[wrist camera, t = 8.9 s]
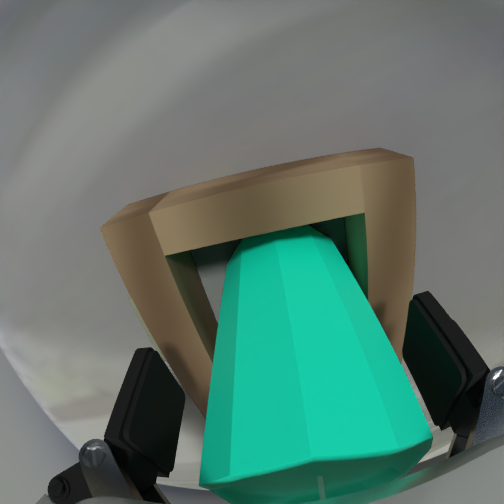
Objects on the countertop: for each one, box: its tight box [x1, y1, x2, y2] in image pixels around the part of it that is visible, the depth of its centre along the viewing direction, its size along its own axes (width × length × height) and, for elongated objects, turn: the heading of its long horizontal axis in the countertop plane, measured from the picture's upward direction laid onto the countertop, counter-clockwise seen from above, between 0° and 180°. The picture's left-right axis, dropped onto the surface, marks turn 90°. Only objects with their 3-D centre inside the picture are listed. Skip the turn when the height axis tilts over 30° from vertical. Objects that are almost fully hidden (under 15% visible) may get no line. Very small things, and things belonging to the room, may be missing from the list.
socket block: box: [100, 148, 416, 418], centre depth 15 cm, size 12×22×3 cm, turn 13°
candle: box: [199, 225, 433, 504], centre depth 9 cm, size 6×6×12 cm
